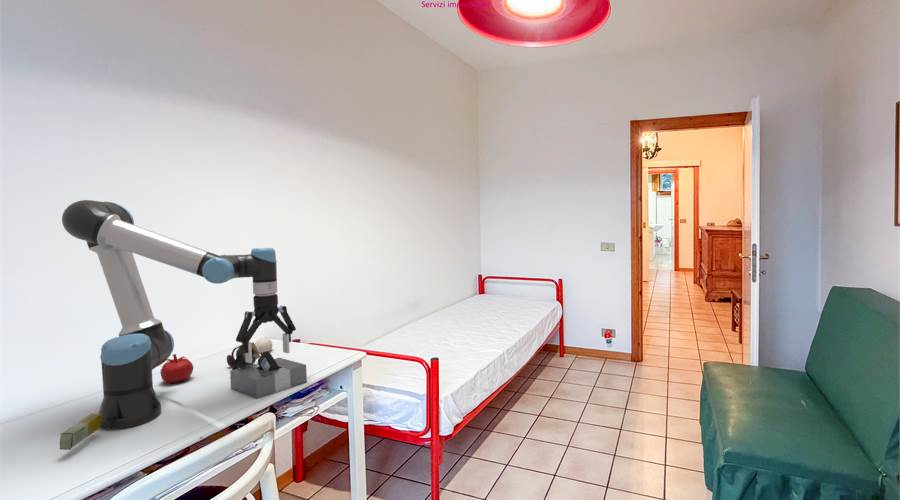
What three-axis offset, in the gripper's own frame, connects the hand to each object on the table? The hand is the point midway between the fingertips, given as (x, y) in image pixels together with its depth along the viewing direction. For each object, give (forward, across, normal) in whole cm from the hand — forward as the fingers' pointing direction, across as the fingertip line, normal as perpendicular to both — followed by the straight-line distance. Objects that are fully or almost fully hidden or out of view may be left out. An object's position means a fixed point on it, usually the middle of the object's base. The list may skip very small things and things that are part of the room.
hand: (268, 357), depth 151 cm
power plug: (+11, -3, +16) cm, 20 cm away
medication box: (+10, -49, +5) cm, 50 cm away
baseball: (+10, +21, +39) cm, 45 cm away
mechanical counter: (+10, +4, +26) cm, 28 cm away
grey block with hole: (+9, 0, 0) cm, 9 cm away
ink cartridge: (+5, 0, -3) cm, 6 cm away
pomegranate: (+10, -15, +34) cm, 38 cm away
